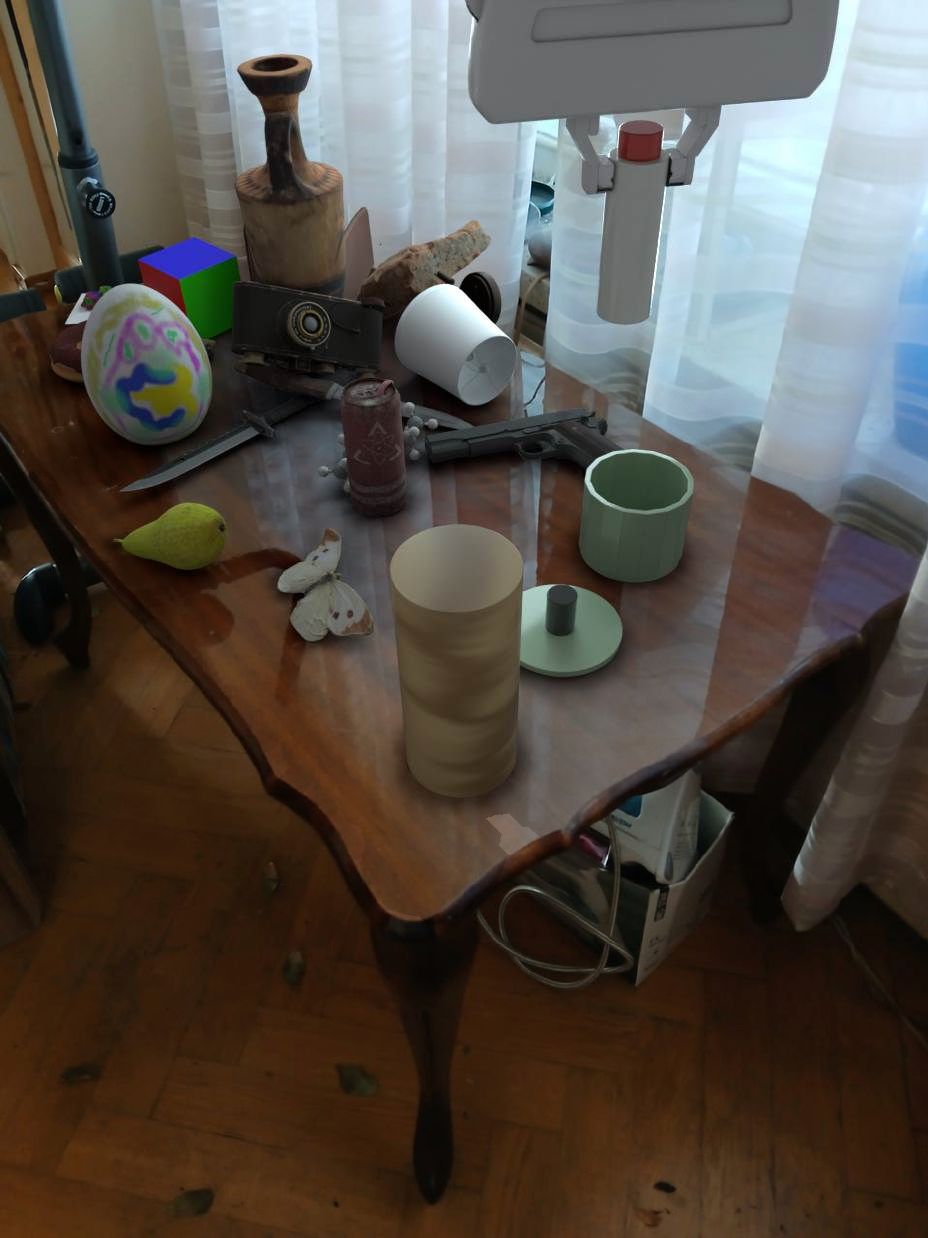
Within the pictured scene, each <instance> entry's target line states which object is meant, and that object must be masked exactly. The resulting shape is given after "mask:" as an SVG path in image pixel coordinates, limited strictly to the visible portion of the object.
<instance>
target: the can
mask: <svg viewBox="0 0 928 1238" xmlns="http://www.w3.org/2000/svg"><path fill="white" fill-rule="evenodd" d="M343 387H344V389H343V393H342V395H341V397H340V400H339V408H340V416H341V425H342V434H344V442H345V447H344V450H345V451H346V459H347V468H348V482H349V485H350V493H349V494H350V501H351V503H352V505H353V507H354V508H355V509H356V510H357V511H358V512H360V513H361V515H366V516H368V517H373V518H384V517H387V516H391V515H394V514H396V513H398V511H400V510H401V509H402V508H403V506H404V505H405V503H406V502H407V498H408V494H407V493H408V492H407V477H406V463H405V449H404V448H405V446H404V445H403V432H404V431H403V420H402V417H403V416H401V403H400V401H401V394H400V393H399V391H398V389H397V387H396V385H395V383H394V380H391V379H385V378H383V377H376V376H374V377H366V378H361V379H357V378H356V379H354V380H352V381H350V382H349V383H347V384H346V385H344V386H343Z"/></svg>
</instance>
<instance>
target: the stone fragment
mask: <svg viewBox="0 0 928 1238" xmlns="http://www.w3.org/2000/svg"><path fill="white" fill-rule="evenodd" d="M491 241H492V237H491V236H490V235H489V234H486V232H485V231H484V229H483V227H482V225H481V223H480V221H478V220H476V219H472V220H470V221H469V222H467V223H466V224H464V225H463V226H462V227H460V228H458V229H457V230H456V231H453V232H452V233H451V234H450V233H449V235H447V236H445V237H441V238H437V239H434V240H431V241H428V242H425V243H421V244H413V245H412V244H411V245H408V246H406V247H404V248H403V249H401V250H399V251H398V252H397V253H395V254H393V255H390V256H389V257H388V258H386V260H384V261H383V262H381V263H380V264H379V265H378V266H377V268H376V269H375V270H374V271H373V272H372V273H371V274H369V276H368V278H367V279H366V281H365V282H364V283H363V284H362V286H361V290H360V294H359V295H360V296H361V298H362V299H363V298H379V299H382V300H383V301H384V305H385V307H384V308H383V309H385V310H386V311H385V312H383V316H382V320H388V319H389V318H391V317H393V316H395V315H396V314H398V313H400V312H402V310H405V309H406V308H407V307H408V305H409V304H410V303H411V302H412V301H413V300H414V299H415V298H416V297H417V296H418V295H419V294H420V293H422V292H423V291H425V290H427V289H428V288H431V287H433V286H436V285H441V284H444V283H445V282H443V281H442V280H441V279H439V278H438V277H437V272H438V271H440V270H441V271H443V272H444V273H446V274H447V275H449V276H450V277H451V278H453V276H454V275H456V274H457V273H459V272H460V271H462V270H463V269H465V268H466V267H468V266H470V264H471V263H472V262H473V261H474V260H476V259H477V258H478V257H480V255H481V254H483V252H484V251H486V250H487V249H488V248H489V246H490V245H491V244H492V243H491Z"/></svg>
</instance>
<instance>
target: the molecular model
mask: <svg viewBox="0 0 928 1238" xmlns="http://www.w3.org/2000/svg"><path fill="white" fill-rule="evenodd" d="M405 403H406V404H405V406H404V409H405V411H406V412H408V413H410V416H411V418H409V419H408V420H407V423H406V424H407V425H406V426H405V427H404V431H402V432H403V447H406V448H408V447H409V449H410V451H409V453H408V455H409V458H410V460H412V461H417V460H419V458H420V456H421V454H420V451H418V450H417V449H415V448H414V447H413V446H414V445H415V443H416V441H417V437H419V435H420V432H421V431H422V429H423V427H428V428H429V429H430V430H435V429H437V428H438V426H439V425H438V423H437V421H436V420H435V419H430V420H429V421H428V422H424V421H422V419H421V418H419V417H417V416H414V415H413V411H414V405H415V404H414V403H413V402H411V401H409V402H408V401H407V402H405ZM337 442H338V444H340V445H342V446H344V448H345V442H344V434H343V433H340V434H339V435H338V436H337ZM341 456H342V458H341V460H340V462H337V463H336V464H335V465H334V466H333V469H329V468H328V467H327V466H324V465H322V466H320V467H319V468H318V470H317V474H318V476H319V477H322V478H327V477H328V476H329V474H333V475H334V476H335V477H336V478H337V479H339V480H343V481H344V485H343V490H344V492H345V493H347V494H351V493H350V485H349V479H348V478H349V476H348V468H347V459H346V451H345V449H344V450H343V452H342V454H341Z"/></svg>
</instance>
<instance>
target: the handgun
mask: <svg viewBox="0 0 928 1238" xmlns="http://www.w3.org/2000/svg"><path fill="white" fill-rule="evenodd" d="M596 413H597V411H596V409H593V410H591V411H589V410H587V409H586V408H585V407H583V406H580V407H579V406H578V407H574V408H569V409H563V410H558V411H552V412H548V413H544V414H543V413H542V414H536V415H530V416H525V417H519V418H515V419H509V420H504V421H497V422H494V423H488V424H483V425H477V426H474V427H472V428H466V429H461V430H459V429H456V430H452V431H451V430H450V431H445V432H440V433H434V434H429V435H425V438H424V448H425V452H426V454H427V456H428V458H429V460H431V462H432V463H433V464H434V463H435V464H436V463H440V462H446V461H450V460H455V459H460V458H461V459H462V458H466V457H468V458H475V457H481V456H486V455H492V454H496V453H501V452H512V453H518V454H519V455H520V457H521V458H523V459H525V460H526V461H527V460H528V461H537V460H542V459H547V458H553V457H554V458H555V459H558V460H561V459H562V460H569V461H572V462H574V463H576V464H578V465H579V466H580V467H581V468H583V469H584V470H585V471H586V470H587V468H588V467H589V466H590V465H591V464H592V463H593V462H594V461H595V460H596V459H597V458H599V457H601V456H604V455H606V454H608V453H611V452H614V451H621V450H625V448H623V447H621V446H620V445H618V444H617V443H615V442H613V441H612V440H610V438H607V437H605V435H606V433H607V432H608V428H609V427H608V426H609V424H608V423H607V419H606V418H602V417H596ZM541 448H542V451H540V452H534V453H531V452H527V451H529V450H534V449H541Z"/></svg>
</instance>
